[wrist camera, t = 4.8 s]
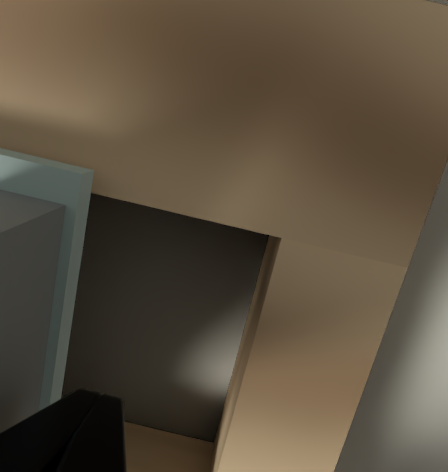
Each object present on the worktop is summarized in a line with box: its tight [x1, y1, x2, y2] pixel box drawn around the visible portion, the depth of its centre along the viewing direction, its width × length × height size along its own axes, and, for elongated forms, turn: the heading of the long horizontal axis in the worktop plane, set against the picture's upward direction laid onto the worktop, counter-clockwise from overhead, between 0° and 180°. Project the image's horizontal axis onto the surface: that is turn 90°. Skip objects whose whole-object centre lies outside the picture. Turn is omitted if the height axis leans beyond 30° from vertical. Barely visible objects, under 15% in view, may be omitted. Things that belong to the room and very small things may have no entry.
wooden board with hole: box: [0, 0, 448, 472], centre depth 11 cm, size 20×16×2 cm
